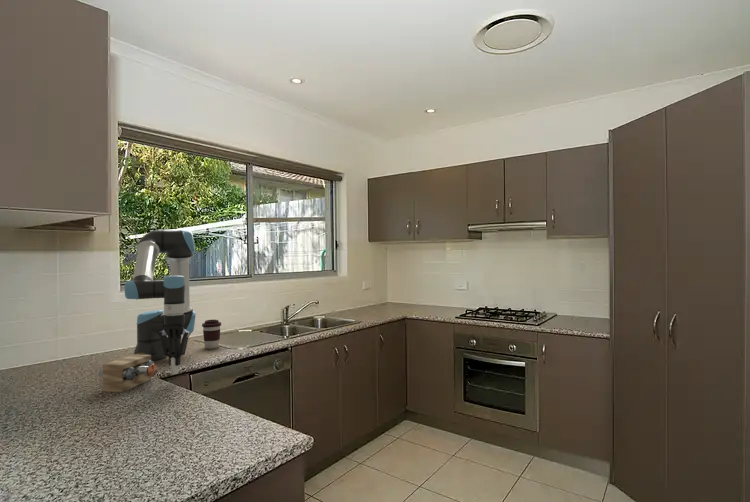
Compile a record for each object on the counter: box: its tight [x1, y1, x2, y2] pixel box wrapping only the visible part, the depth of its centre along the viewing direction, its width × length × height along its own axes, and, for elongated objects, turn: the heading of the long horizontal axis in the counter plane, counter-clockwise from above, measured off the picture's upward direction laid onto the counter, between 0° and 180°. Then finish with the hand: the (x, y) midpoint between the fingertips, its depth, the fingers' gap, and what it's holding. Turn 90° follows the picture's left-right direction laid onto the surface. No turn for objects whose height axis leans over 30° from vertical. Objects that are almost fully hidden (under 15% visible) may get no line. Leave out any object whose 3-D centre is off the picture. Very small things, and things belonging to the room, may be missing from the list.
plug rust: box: [133, 363, 158, 378], centre depth 164 cm, size 5×13×5 cm, turn 81°
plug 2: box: [143, 360, 155, 366], centre depth 169 cm, size 5×13×5 cm, turn 81°
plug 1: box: [97, 368, 136, 380], centre depth 159 cm, size 5×13×5 cm, turn 81°
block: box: [102, 354, 152, 393], centre depth 164 cm, size 16×8×10 cm, turn 171°
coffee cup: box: [201, 319, 222, 350], centre depth 232 cm, size 10×10×15 cm
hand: (174, 373), depth 166 cm, fingers closed
